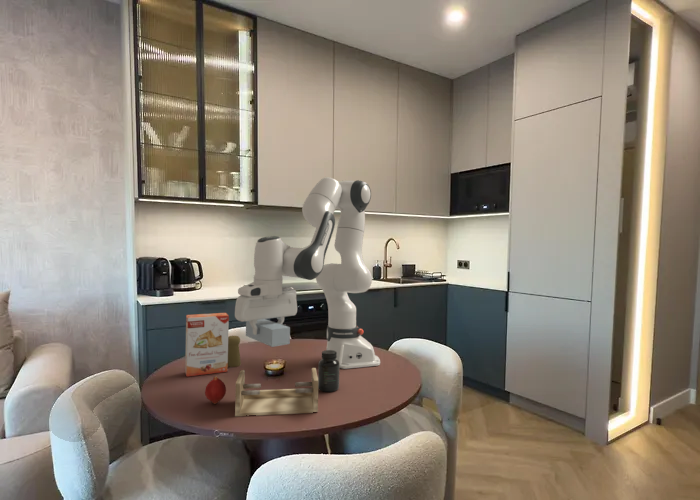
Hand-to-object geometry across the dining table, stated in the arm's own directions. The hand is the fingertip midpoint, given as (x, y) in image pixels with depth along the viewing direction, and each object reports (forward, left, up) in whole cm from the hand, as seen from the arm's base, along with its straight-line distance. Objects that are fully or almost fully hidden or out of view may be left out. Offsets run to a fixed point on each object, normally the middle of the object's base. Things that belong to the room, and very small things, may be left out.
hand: (267, 332), depth 122 cm
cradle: (-4, +10, -19) cm, 22 cm away
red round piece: (+14, +6, -19) cm, 25 cm away
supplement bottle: (-20, -2, -19) cm, 28 cm away
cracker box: (+22, -22, -19) cm, 37 cm away
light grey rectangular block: (0, 0, -2) cm, 2 cm away
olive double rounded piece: (+14, -30, -19) cm, 38 cm away
